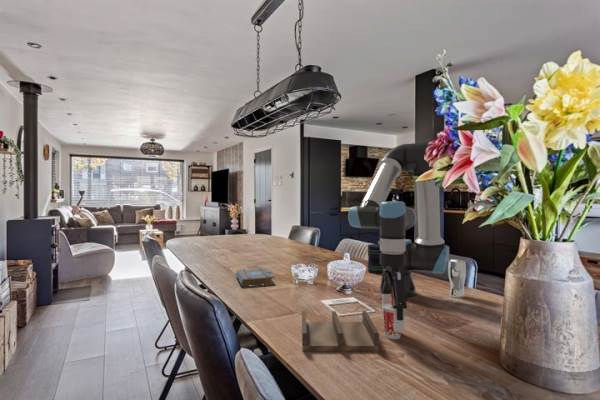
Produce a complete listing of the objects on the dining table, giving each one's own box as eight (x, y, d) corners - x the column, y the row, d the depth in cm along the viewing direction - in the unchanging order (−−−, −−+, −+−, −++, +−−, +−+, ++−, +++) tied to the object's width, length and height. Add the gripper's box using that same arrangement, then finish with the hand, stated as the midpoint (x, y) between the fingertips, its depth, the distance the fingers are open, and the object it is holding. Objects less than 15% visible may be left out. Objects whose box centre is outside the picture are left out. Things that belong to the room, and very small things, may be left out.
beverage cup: (407, 337, 103) (407, 291, 103) (392, 342, 100) (392, 294, 100) (392, 330, 108) (392, 286, 108) (377, 334, 105) (377, 289, 105)
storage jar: (375, 269, 199) (375, 243, 199) (389, 272, 192) (389, 245, 191) (364, 271, 193) (363, 245, 193) (378, 274, 185) (378, 247, 185)
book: (235, 278, 181) (235, 268, 181) (266, 275, 186) (266, 266, 186) (241, 288, 161) (240, 277, 161) (275, 285, 166) (275, 275, 166)
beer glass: (461, 299, 141) (461, 262, 141) (445, 295, 147) (445, 260, 146) (468, 295, 146) (469, 260, 146) (452, 292, 151) (452, 258, 151)
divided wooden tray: (366, 326, 112) (366, 311, 112) (378, 351, 94) (378, 333, 94) (302, 326, 112) (301, 311, 112) (302, 351, 94) (302, 333, 94)
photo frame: (353, 296, 143) (375, 310, 126) (353, 299, 143) (375, 313, 126) (320, 300, 138) (339, 314, 121) (320, 302, 138) (339, 317, 121)
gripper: (371, 246, 116) (371, 308, 117) (391, 259, 91) (391, 338, 92) (393, 246, 116) (393, 308, 117) (419, 259, 91) (419, 338, 92)
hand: (392, 321), depth 104 cm, fingers open, 13 cm apart
